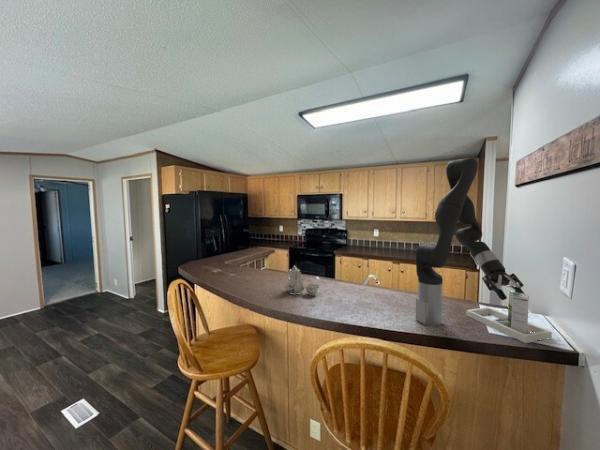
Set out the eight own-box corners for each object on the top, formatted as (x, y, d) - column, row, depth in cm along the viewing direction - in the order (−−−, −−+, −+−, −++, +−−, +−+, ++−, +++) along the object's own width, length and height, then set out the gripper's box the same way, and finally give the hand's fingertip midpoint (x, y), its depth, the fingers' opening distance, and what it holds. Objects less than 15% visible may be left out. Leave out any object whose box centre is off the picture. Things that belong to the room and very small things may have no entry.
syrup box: (507, 326, 102) (508, 291, 101) (527, 330, 98) (528, 294, 98) (507, 331, 98) (508, 294, 97) (528, 336, 94) (529, 298, 93)
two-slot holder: (525, 343, 90) (525, 335, 90) (465, 315, 114) (466, 309, 113) (551, 338, 93) (551, 331, 93) (488, 312, 116) (488, 306, 116)
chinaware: (324, 298, 144) (326, 269, 144) (300, 301, 135) (302, 270, 135) (297, 286, 167) (299, 261, 167) (275, 288, 158) (277, 261, 158)
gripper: (480, 259, 106) (505, 295, 95) (509, 258, 108) (537, 293, 97) (469, 269, 111) (492, 304, 101) (497, 267, 114) (522, 301, 103)
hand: (514, 298), depth 99 cm, fingers open, 8 cm apart
